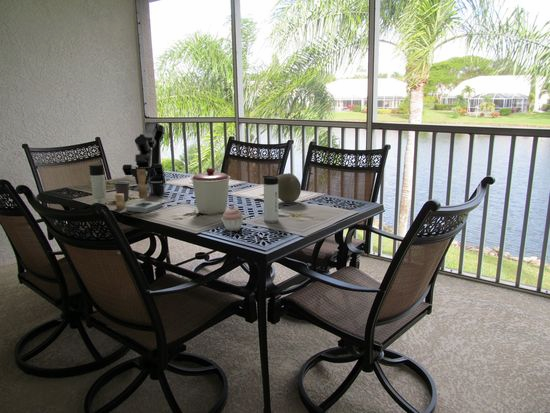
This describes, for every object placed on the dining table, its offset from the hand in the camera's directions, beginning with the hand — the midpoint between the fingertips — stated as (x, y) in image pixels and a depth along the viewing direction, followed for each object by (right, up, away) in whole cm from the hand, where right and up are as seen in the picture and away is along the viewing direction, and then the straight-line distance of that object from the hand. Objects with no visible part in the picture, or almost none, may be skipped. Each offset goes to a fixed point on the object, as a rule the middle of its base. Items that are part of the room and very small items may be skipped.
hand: (141, 184), depth 207 cm
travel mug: (+62, -17, -18) cm, 67 cm away
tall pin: (0, -6, +3) cm, 7 cm away
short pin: (-12, -12, +5) cm, 17 cm away
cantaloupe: (+70, -9, +14) cm, 72 cm away
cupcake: (+46, -20, -29) cm, 58 cm away
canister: (+34, -13, -2) cm, 37 cm away
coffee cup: (-17, -7, +23) cm, 29 cm away
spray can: (-26, -9, +15) cm, 31 cm away
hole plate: (0, -12, +4) cm, 12 cm away
